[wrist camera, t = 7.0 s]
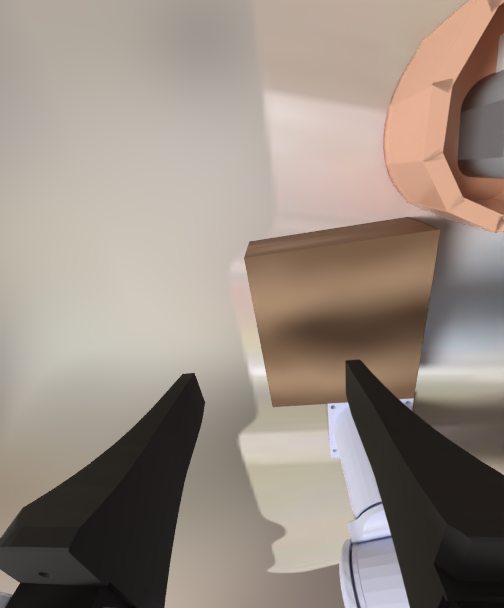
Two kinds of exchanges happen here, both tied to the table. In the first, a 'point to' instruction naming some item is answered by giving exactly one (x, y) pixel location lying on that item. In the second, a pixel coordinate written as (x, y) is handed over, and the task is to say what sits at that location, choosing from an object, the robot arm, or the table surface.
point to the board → (342, 307)
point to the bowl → (445, 119)
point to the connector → (483, 125)
